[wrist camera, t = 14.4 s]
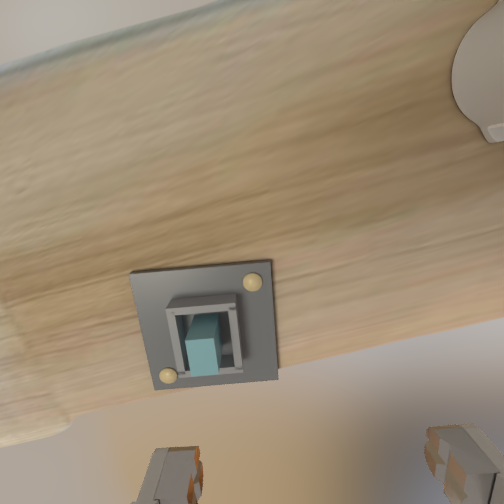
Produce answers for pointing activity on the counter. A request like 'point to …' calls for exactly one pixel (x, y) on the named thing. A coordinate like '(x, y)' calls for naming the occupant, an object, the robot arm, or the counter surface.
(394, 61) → the counter surface
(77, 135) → the counter surface
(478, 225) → the counter surface
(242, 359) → the housing
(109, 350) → the counter surface
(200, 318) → the block
